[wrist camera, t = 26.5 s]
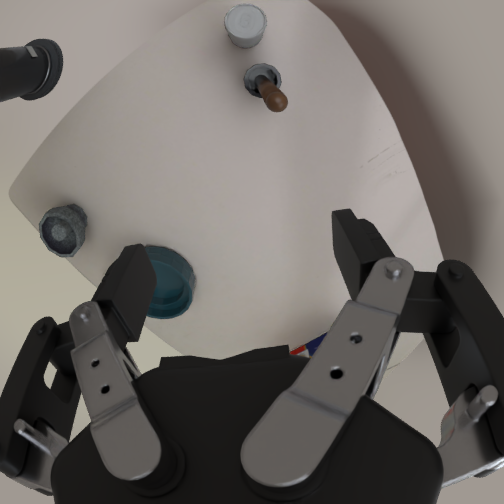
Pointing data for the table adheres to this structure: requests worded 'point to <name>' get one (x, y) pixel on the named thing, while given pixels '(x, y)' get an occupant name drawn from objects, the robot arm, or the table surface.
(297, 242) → the table surface
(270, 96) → the stick
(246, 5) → the beverage can
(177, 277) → the bowl
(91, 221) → the table surface
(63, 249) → the mortar and pestle
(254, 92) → the crock
